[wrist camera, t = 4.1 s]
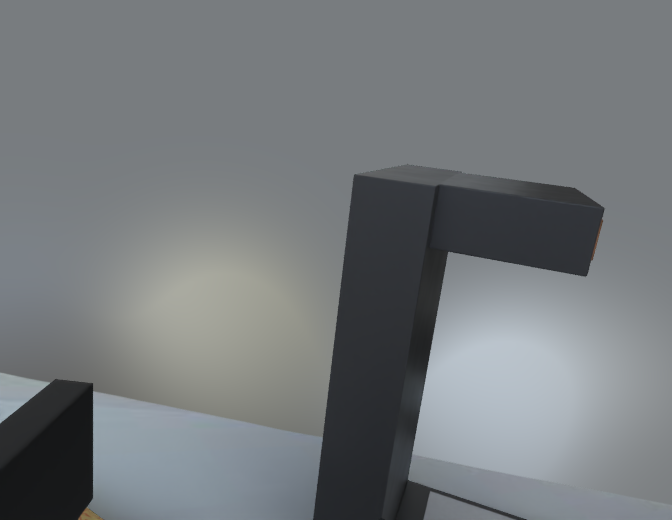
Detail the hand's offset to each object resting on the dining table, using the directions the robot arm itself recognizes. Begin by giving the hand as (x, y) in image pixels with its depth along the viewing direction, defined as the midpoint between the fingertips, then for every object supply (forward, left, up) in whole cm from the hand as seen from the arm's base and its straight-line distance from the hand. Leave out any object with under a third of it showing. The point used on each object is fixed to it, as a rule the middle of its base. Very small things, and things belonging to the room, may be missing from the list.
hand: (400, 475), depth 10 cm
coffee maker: (-3, -27, -30) cm, 41 cm away
